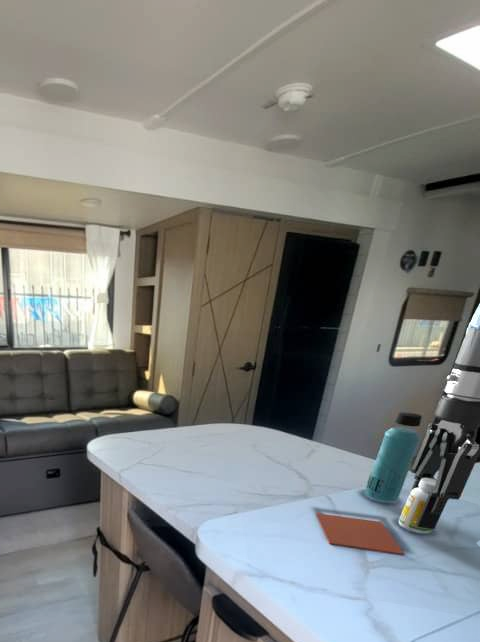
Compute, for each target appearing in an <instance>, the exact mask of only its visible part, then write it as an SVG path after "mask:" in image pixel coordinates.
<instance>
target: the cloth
mask: <svg viewBox="0 0 480 642" xmlns="http://www.w3.org/2000/svg"><path fill="white" fill-rule="evenodd" d="M316 515H317V516H316ZM315 516H316V518H317V517H318V518H317V520H318V523H319V524H320V526H321V529H322V531H323V533H324V535H325V537H326V540H327V543H328V544H329V545H333V546H339V547H348V548H354V549H361V550H367V551H374V552H379V551H380V553H386V552H387V553H386V554H392V555H393V554H394V555H400V556H405V552H404V551H403V550H402V548H401V547H400V545H399V544H398V543H397V542H396V540H395V539H394V538H393V536H392V534H391V533H390V532H389V531H388V529H387V528H386V526H385V525H384V524H383V523H382V522H381V521H378V520H370V519H363V518H357V517H349V516H342V515H333V514H326V513H318V512H316V513H315Z"/></svg>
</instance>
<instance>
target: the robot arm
mask: <svg viewBox="0 0 480 642" xmlns="http://www.w3.org/2000/svg"><path fill="white" fill-rule="evenodd" d="M446 381H447V382H446V384H445V387H444V389H443V391H444V393H445V394H443V396H441V397H440V398H439V401H438V404H437V405H436V408H435V411H434V416H435V418H437V419H438V420H440V421H439V422H438V423H431V422H430V423H428V425H427V430H426V433H425V436H424V439H423V441H422V443H421V446H420V448H419V451H418V453H417V456H416V458H415V461H414V463H413V465H412V468H411V474H414V475H413V479H414V482H413V485H412V487H411V489H410V492H411V491H412V490H413V489H415V488H418V487H419V483H420V480H421V479H422V478H432V479H437V481H436V485H435V488H434V492H433V493H431V492H428V495H429V496H428V498H427V500H426V503H425V505H424V507H423V510H422V512H421V514H420V517H419V519H418V521H417V523H416V526H417V527H422V528H429V529H433V530H435V529H436V527H437V524H438V522H439V520H440V518H441V516H442V514H443V512H444V509H445V507H446V505H447V503H448V501H449V500H460V498H461V497H462V494H463V492H464V489H465V487H466V485H467V484H468V483H467V482H468V481H469V478H470V476H471V473H472V471H473V470H474V467H475V465H476V463H477V460H478V458H479V457H480V443H479V444H478V443H477V442H476V441H475V440H476V438H477V432H478V429H479V428H480V303H479V304H478V306H477V308H476V309H475V312H474V314H473V316H472V318H471V320H470V321H469V323H468V326H467V327H466V332H465V336H464V338H463V341H462V344H461V346H460V348H459V351H458V353H457V357H456V359H455V362H454V364H453V367H452V370H451V372H450V374H449V375H447V376H446ZM437 472H438V473H437ZM436 473H437V477H436V478H435V475H436ZM409 495H410V493H409ZM409 495H408V496H409Z"/></svg>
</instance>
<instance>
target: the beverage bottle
mask: <svg viewBox="0 0 480 642" xmlns="http://www.w3.org/2000/svg"><path fill="white" fill-rule="evenodd" d="M422 418H423V415H421V414H419V413H415V412H410V411H409V412H408V411H400V412H399V413H398V414H397V416H396V418H395V420H394V423H395V424H398V425H402V426H405V427H402V426H401V427H400V426H395V427H392V428H390V429H388V430H385V432H384V436H383V439H382V442H381V444H380V447H379V448H378V451H377V454H376V457H375V462H374V464H373V466H372V469H371V470H372V471H371V472H370V473H369V477H368V479H367V483H366V486H365V495H366V496H368V497H369V498H371V499H374V500H376V501H377V500H378V501H381V502H387V503H388V502H389V503H392V502H396V501H397V500H398V499H399V498H400V495H401V493H402V490H403V487H404V485H405V482H406V479H407V477H408V473H409V472H410V468H411V465H412V462H413V460H414V457H415V455H416V452H417V450H418V448H419V447H418V446H419V444H420V441H421V440H422V437H421V435H420V434H419V432H418V431H417V430H415V429H412V428H407V427H419V426H420V425H421V421H422Z"/></svg>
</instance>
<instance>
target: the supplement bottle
mask: <svg viewBox="0 0 480 642" xmlns="http://www.w3.org/2000/svg"><path fill="white" fill-rule="evenodd" d="M436 481H437V478H435V479H432V478H422V479H421V480H420V483H419V487H418V488H415V489H413V490H412V491H411V490H410V492H409V494H410V495H408V497H407V499H406V502H405V504H404V507H403V509H402V511H401V514H400V516H399V518H398V524H399V525H400V526H401V527H402V528H403V529H405V530H406V531H410V532H413V533H417V534H424V535H425V534H430V533H431V532H433V530H434V529H429V528H422V527H417V526H416V523H417V521H418V519H419V517H420V514H421V512H422V510H423V507H424V505H425V503H426V500H427V498H428V496H429V495H428V492H431V493H433V492H434V488H435V485H436Z"/></svg>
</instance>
